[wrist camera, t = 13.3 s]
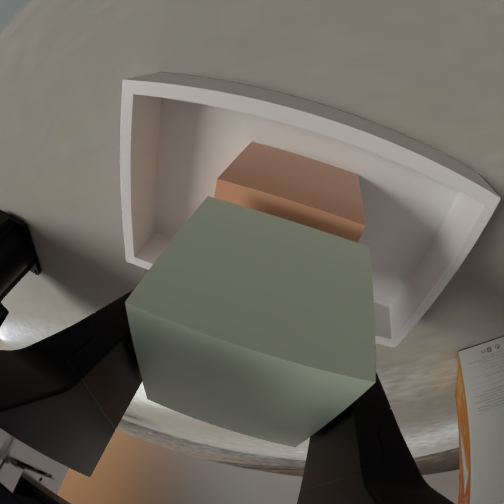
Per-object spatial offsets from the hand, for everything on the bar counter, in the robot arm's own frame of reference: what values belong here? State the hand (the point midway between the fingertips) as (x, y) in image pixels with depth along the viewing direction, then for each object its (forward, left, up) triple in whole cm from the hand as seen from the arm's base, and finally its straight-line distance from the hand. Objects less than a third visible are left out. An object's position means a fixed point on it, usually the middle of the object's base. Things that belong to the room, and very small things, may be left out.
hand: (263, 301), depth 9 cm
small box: (-8, -21, -7) cm, 23 cm away
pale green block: (0, 0, -1) cm, 1 cm away
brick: (0, 0, -6) cm, 7 cm away
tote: (0, 0, -7) cm, 7 cm away
